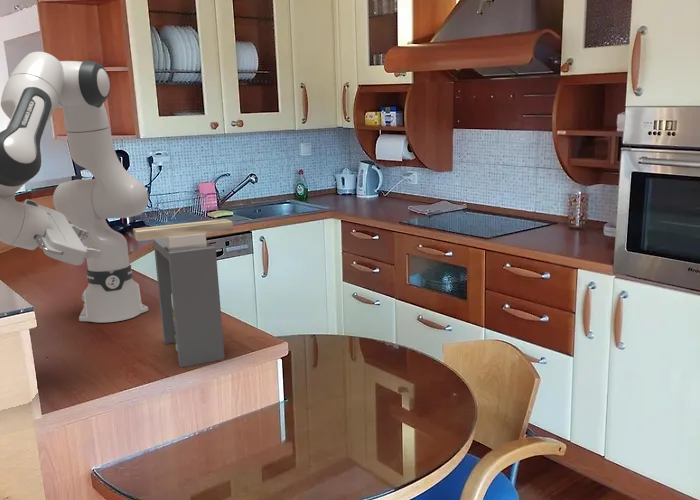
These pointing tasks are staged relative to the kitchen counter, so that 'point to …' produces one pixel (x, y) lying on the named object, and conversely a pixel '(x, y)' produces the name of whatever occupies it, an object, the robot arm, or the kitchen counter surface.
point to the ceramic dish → (185, 242)
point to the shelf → (190, 302)
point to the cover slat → (182, 229)
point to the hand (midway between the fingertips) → (93, 244)
